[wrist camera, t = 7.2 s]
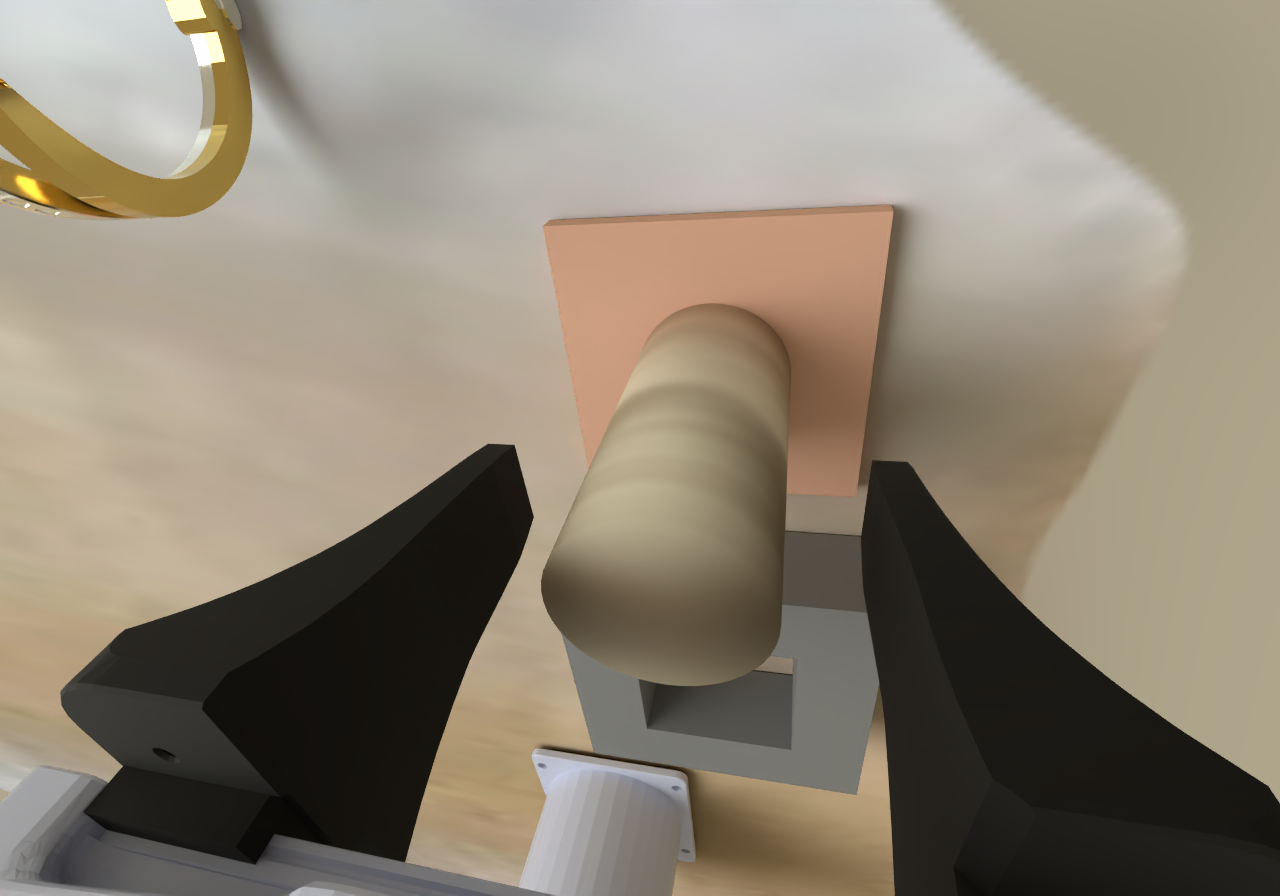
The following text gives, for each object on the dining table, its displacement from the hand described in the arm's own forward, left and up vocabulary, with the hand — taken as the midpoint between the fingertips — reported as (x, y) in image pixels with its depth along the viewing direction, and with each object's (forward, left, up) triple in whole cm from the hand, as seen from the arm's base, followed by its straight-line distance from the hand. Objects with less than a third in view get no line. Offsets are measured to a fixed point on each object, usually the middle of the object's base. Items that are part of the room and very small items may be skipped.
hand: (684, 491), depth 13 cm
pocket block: (-11, 0, -5) cm, 12 cm away
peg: (0, 0, -5) cm, 5 cm away
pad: (0, 0, -5) cm, 5 cm away
